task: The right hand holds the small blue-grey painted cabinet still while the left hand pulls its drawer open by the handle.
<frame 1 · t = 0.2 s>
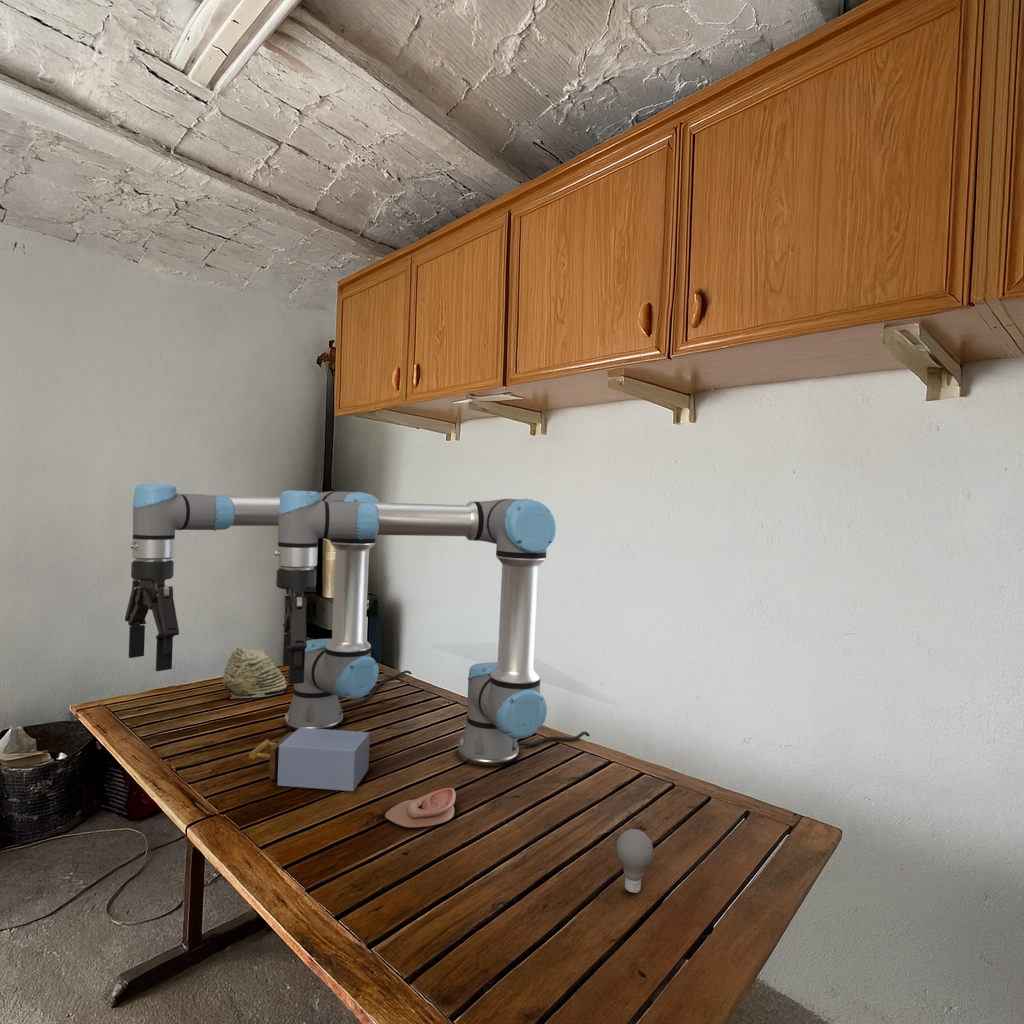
left hand: (149, 663, 129), 28 cm above the table, tool pointing down, fingers open, 13 cm apart
right hand: (292, 673, 127), 28 cm above the table, tool pointing down, fingers open, 13 cm apart
drawer: (301, 756, 143), point 4 cm above the table, slide at 1.0 cm
anatomical model: (420, 815, 128), on the table
cabinet: (324, 777, 143), on the table
light bulb: (632, 891, 106), on the table
fossil: (254, 694, 198), on the table
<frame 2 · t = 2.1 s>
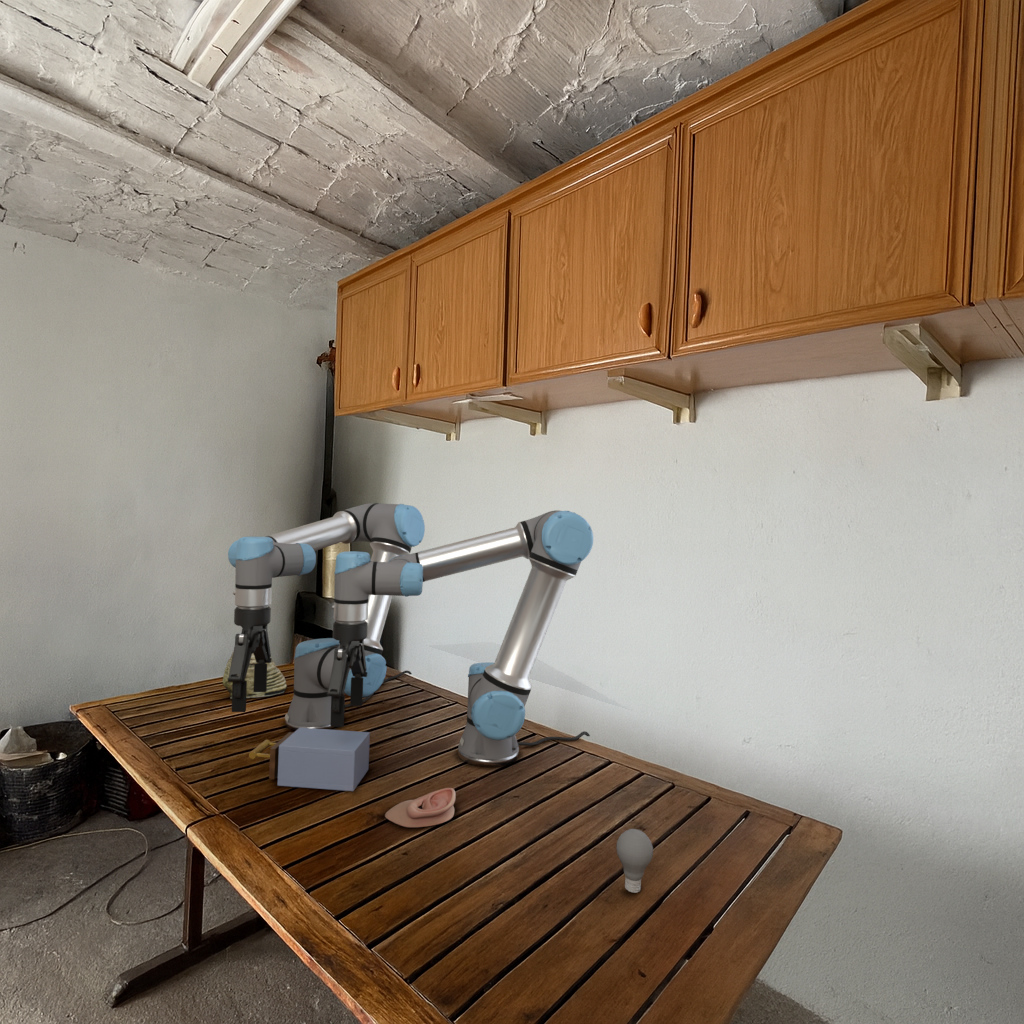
left hand: (249, 701, 141), 17 cm above the table, tool pointing down, fingers open, 13 cm apart
right hand: (347, 715, 142), 15 cm above the table, tool pointing down, fingers open, 13 cm apart
nothing on the table moved.
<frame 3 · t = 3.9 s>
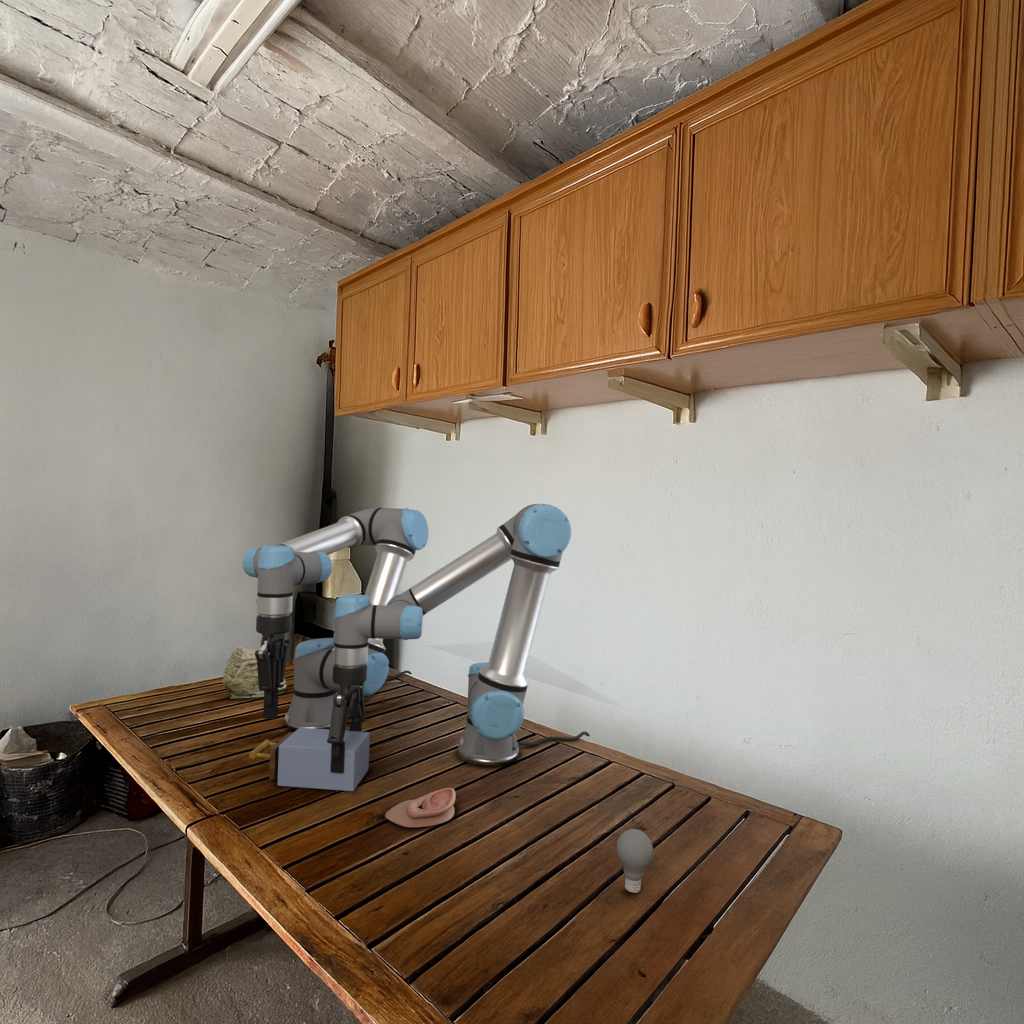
left hand: (270, 717, 144), 13 cm above the table, tool pointing down, fingers closed
right hand: (346, 760, 143), 4 cm above the table, tool pointing down, fingers closed on cabinet, 11 cm apart
cabinet: (324, 777, 143), on the table, touching right hand
everything else where it was.
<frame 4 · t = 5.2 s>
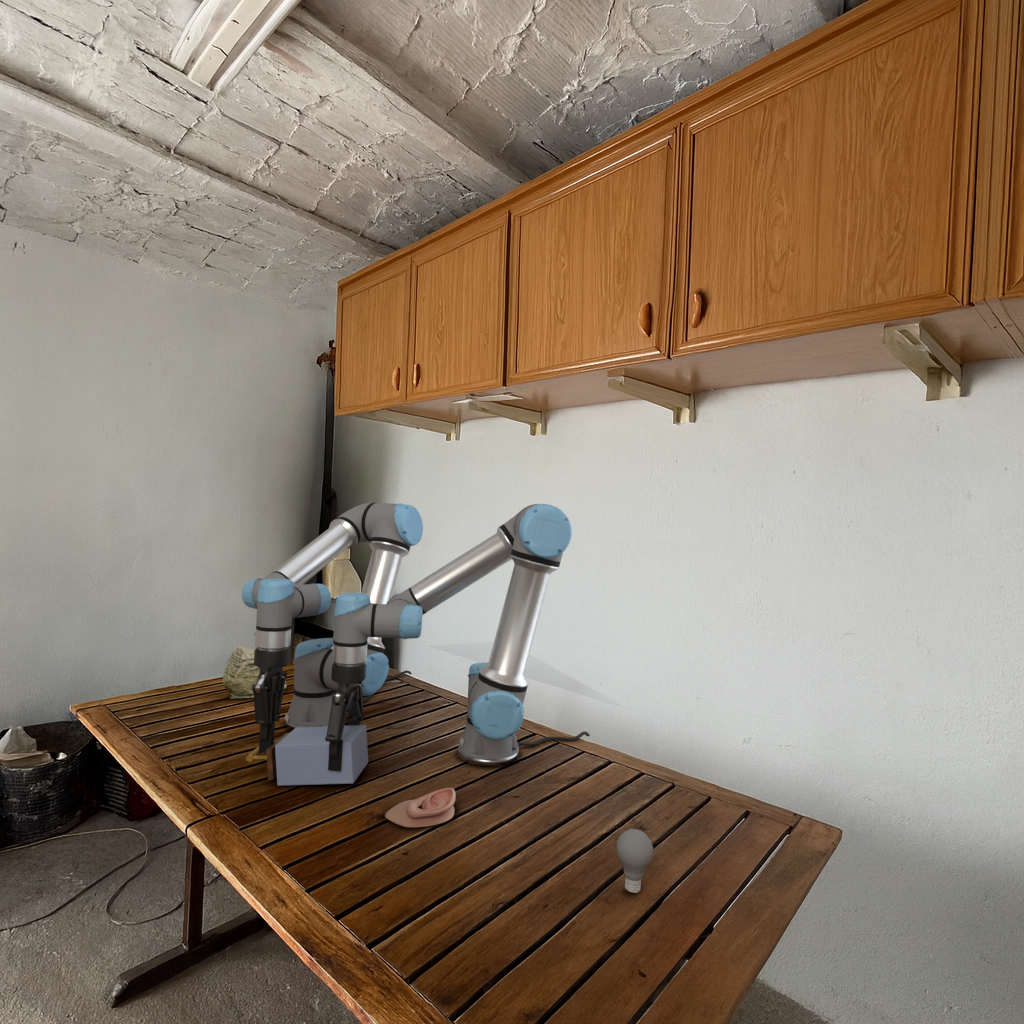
left hand: (266, 751, 143), 5 cm above the table, tool pointing down, fingers closed
right hand: (343, 758, 143), 5 cm above the table, tool pointing down, fingers closed on cabinet, 11 cm apart
drawer: (298, 755, 143), point 5 cm above the table, slide at 1.1 cm
cabinet: (324, 773, 143), point 1 cm above the table, tilted 6°, touching right hand
everything else where it was.
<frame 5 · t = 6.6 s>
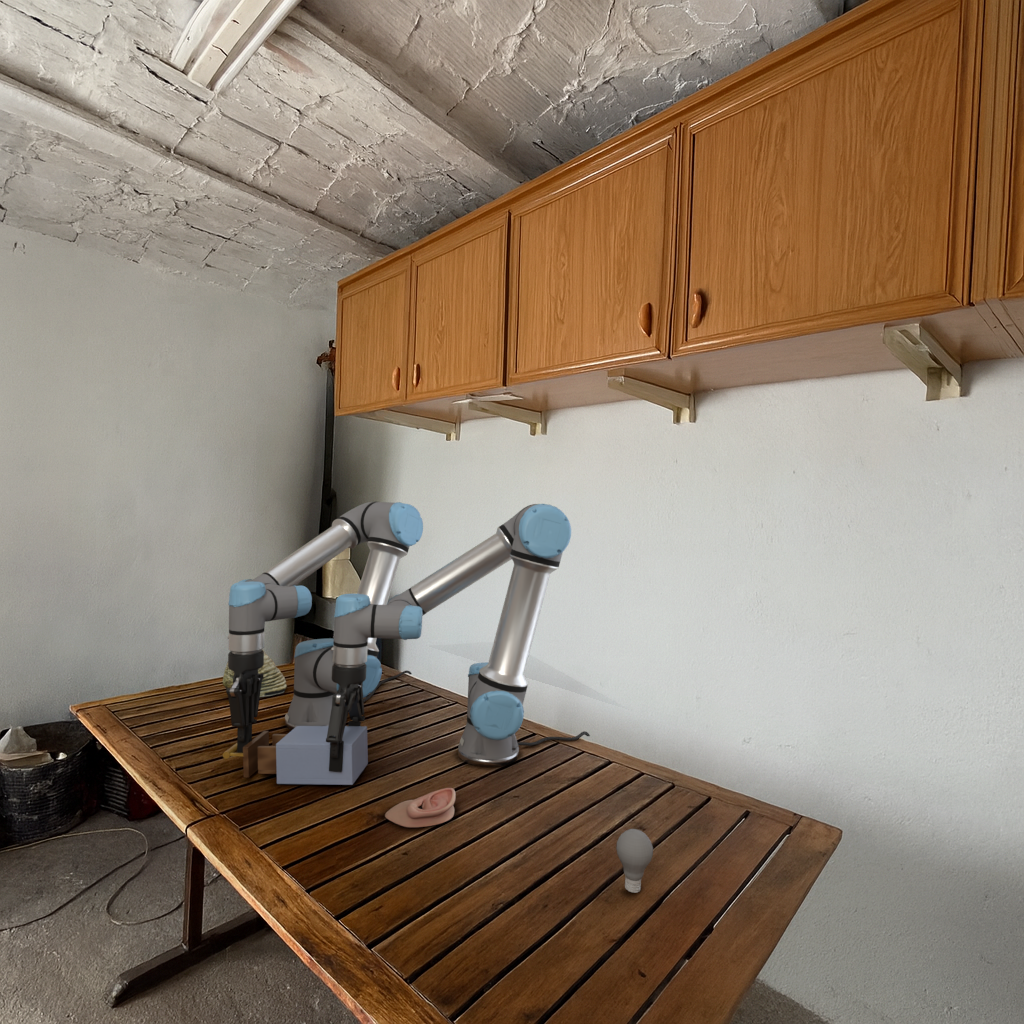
left hand: (244, 752, 145), 4 cm above the table, tool pointing down, fingers closed
right hand: (344, 759, 143), 4 cm above the table, tool pointing down, fingers closed on cabinet, 11 cm apart
drawer: (275, 753, 144), point 4 cm above the table, slide at 6.6 cm, touching left hand
cabinet: (324, 773, 143), point 1 cm above the table, touching right hand
everything else where it was.
when the right hand's fingers open (4 cm above the table, at t = 8.1 s): cabinet stays where it is, on the table.
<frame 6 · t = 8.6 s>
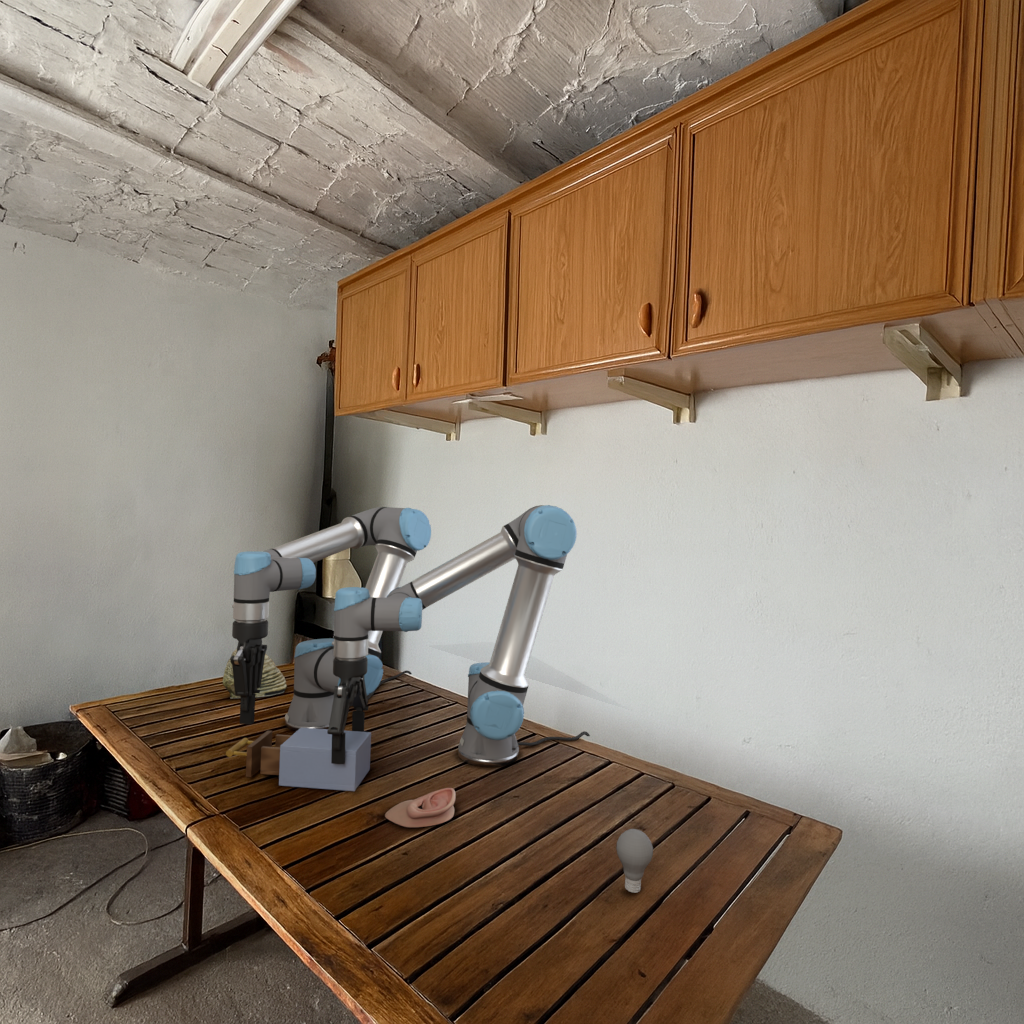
left hand: (246, 722, 144), 11 cm above the table, tool pointing down, fingers closed
right hand: (348, 750, 143), 6 cm above the table, tool pointing down, fingers open, 13 cm apart
drawer: (278, 754, 144), point 4 cm above the table, slide at 6.6 cm
cabinet: (325, 777, 143), on the table
everything else where it was.
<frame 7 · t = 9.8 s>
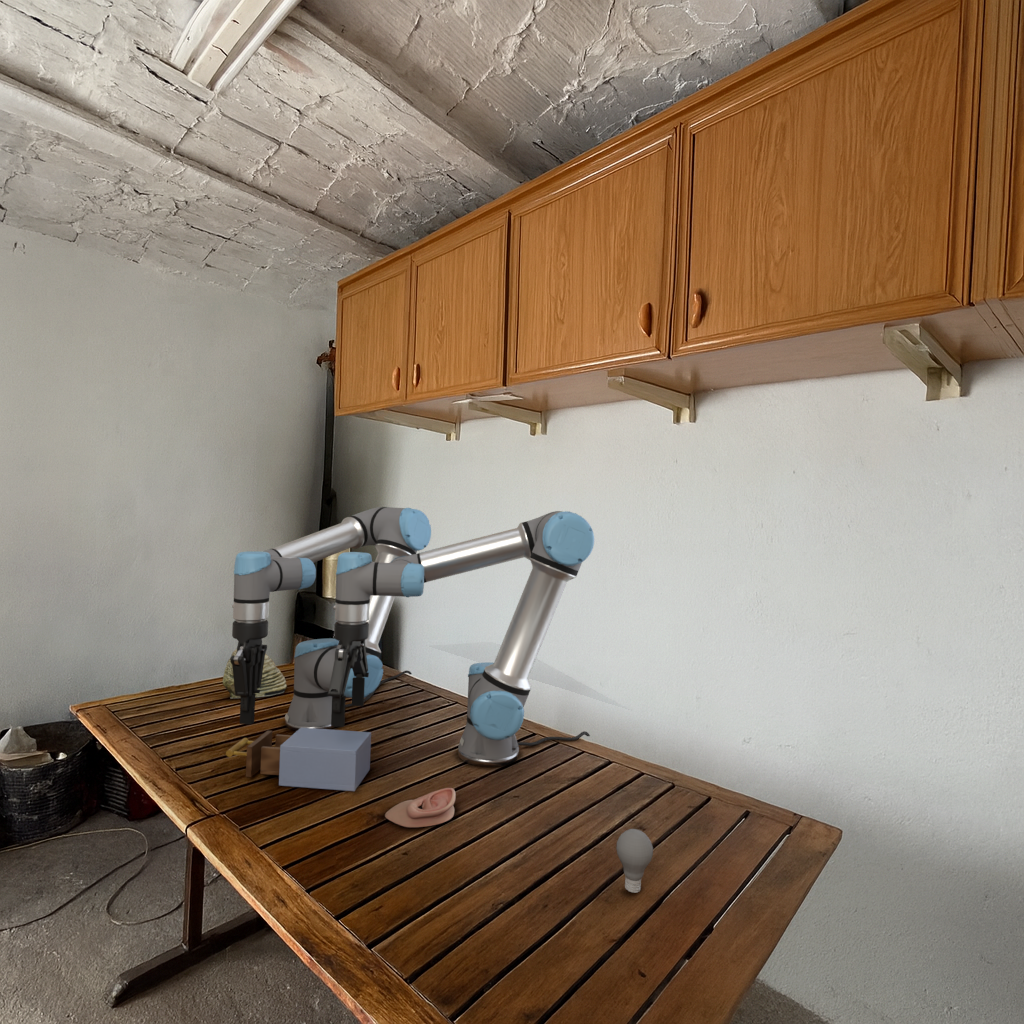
left hand: (246, 722, 144), 11 cm above the table, tool pointing down, fingers closed
right hand: (348, 715, 142), 14 cm above the table, tool pointing down, fingers open, 13 cm apart
nothing on the table moved.
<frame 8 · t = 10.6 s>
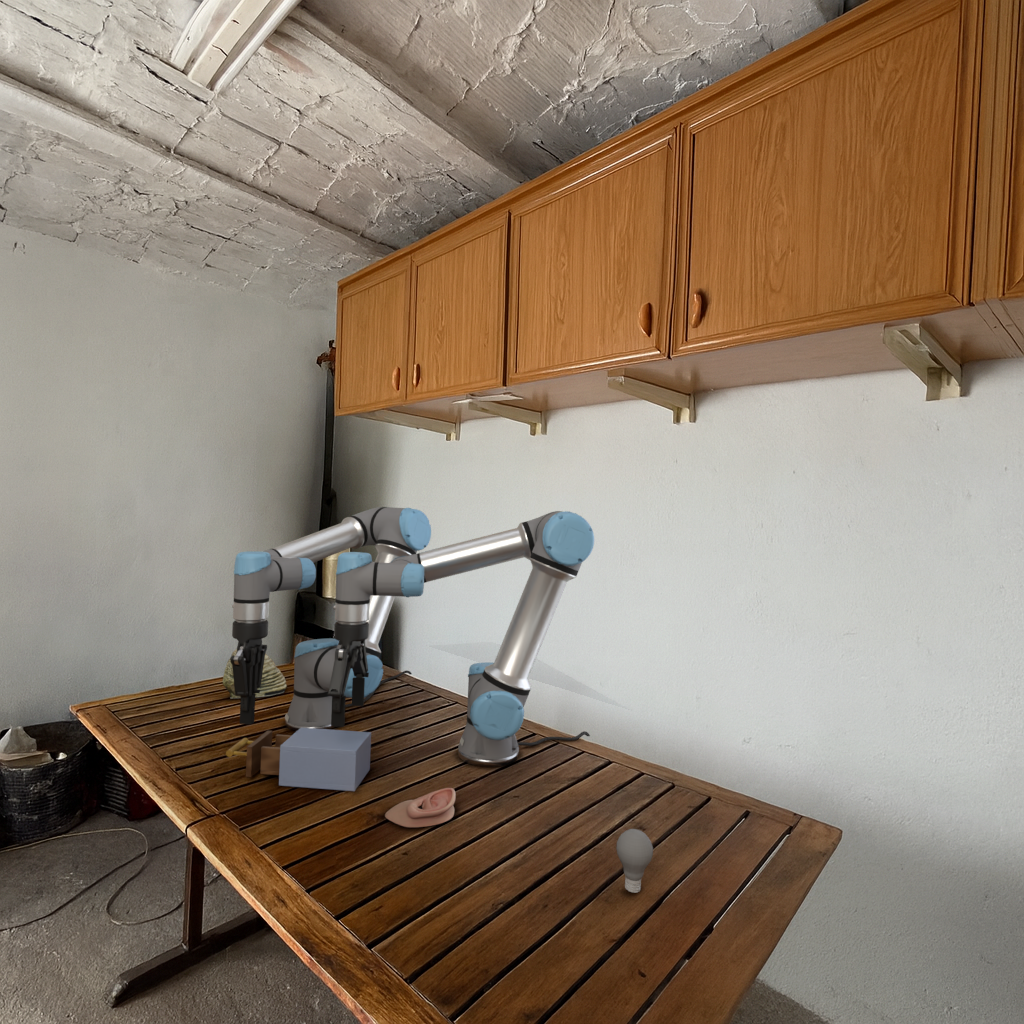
left hand: (246, 722, 144), 11 cm above the table, tool pointing down, fingers closed
right hand: (348, 715, 142), 14 cm above the table, tool pointing down, fingers open, 13 cm apart
nothing on the table moved.
at the end: drawer slide at 6.6 cm; cabinet tilted 0°; cabinet never tilted more than 6° during the clip; cabinet moved 0.3 cm from its start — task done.
